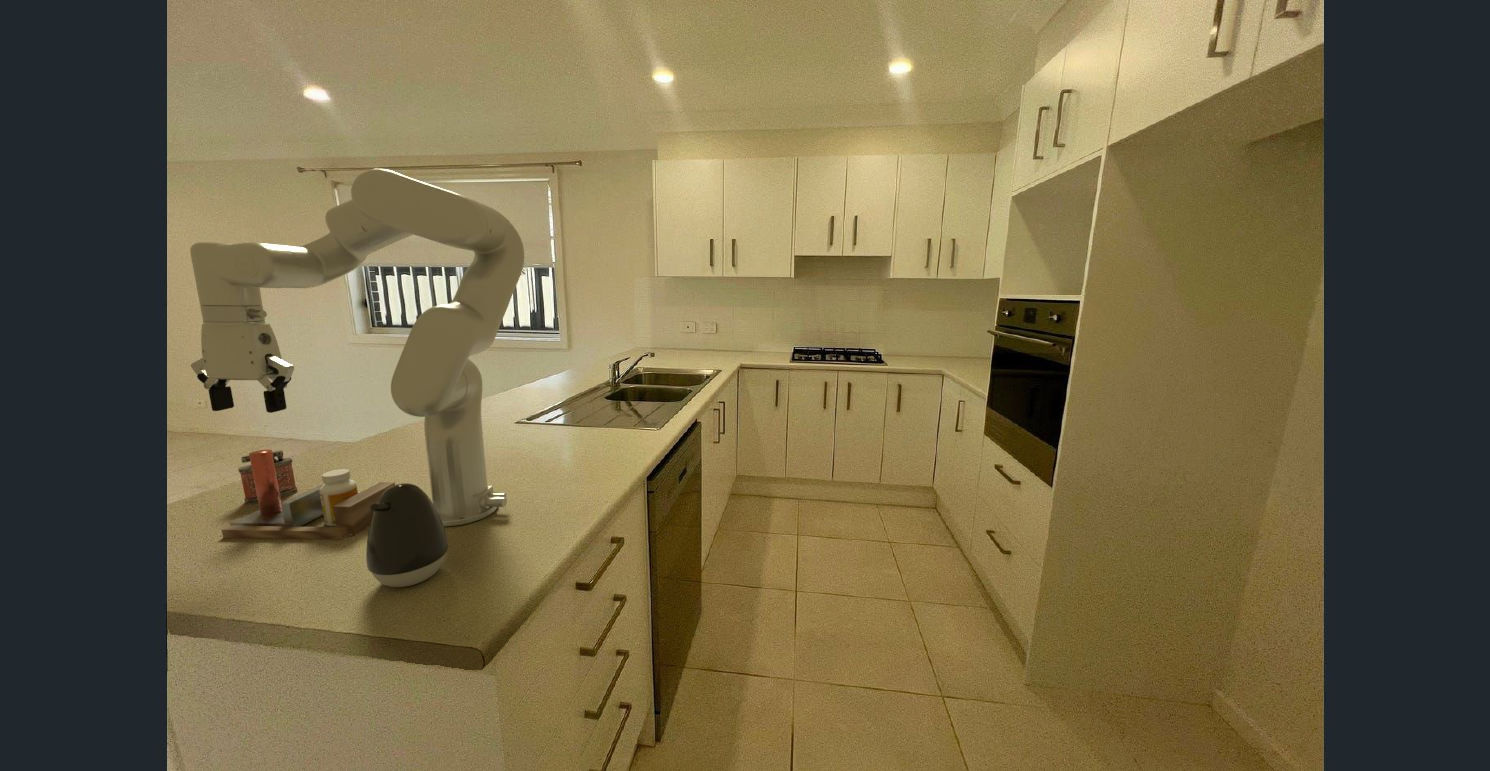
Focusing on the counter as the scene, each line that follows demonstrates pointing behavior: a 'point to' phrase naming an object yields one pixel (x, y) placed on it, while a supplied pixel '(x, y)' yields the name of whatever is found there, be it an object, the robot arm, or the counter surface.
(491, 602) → the counter surface
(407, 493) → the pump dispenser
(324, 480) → the supplement bottle
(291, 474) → the lighter
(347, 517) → the bench clamp
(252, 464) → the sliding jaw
